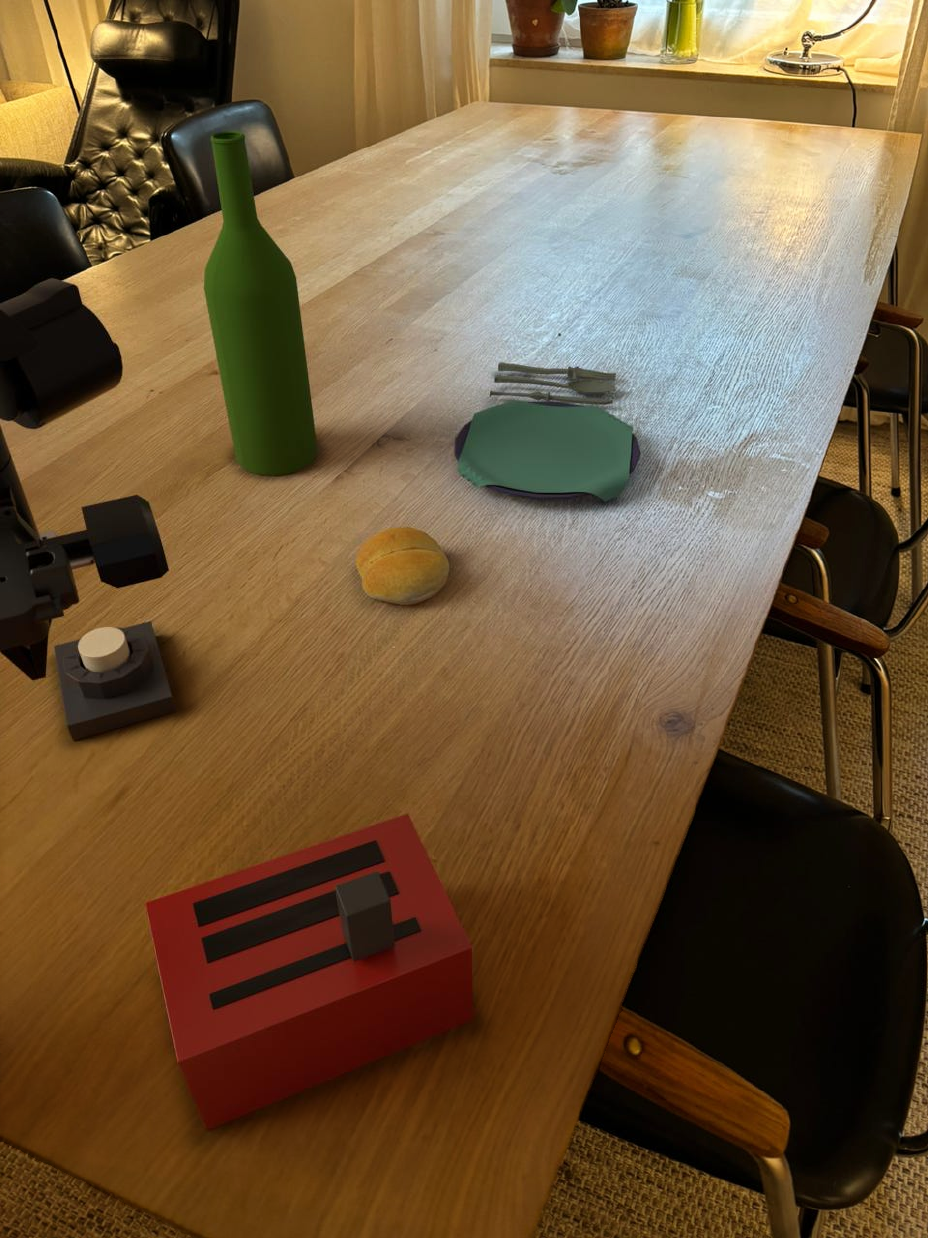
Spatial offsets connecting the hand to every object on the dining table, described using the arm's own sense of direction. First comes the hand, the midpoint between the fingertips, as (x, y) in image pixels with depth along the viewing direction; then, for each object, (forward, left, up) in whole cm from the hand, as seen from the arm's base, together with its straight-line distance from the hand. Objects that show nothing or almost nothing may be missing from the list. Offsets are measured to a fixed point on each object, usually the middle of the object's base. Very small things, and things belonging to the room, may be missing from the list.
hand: (38, 675), depth 64 cm
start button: (+3, +12, -10) cm, 16 cm away
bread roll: (+30, +16, -13) cm, 36 cm away
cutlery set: (+54, +33, -13) cm, 65 cm away
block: (+3, +12, -13) cm, 18 cm away
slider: (+14, -23, -5) cm, 28 cm away
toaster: (+11, -21, -13) cm, 27 cm away
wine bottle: (+25, +42, -13) cm, 51 cm away
